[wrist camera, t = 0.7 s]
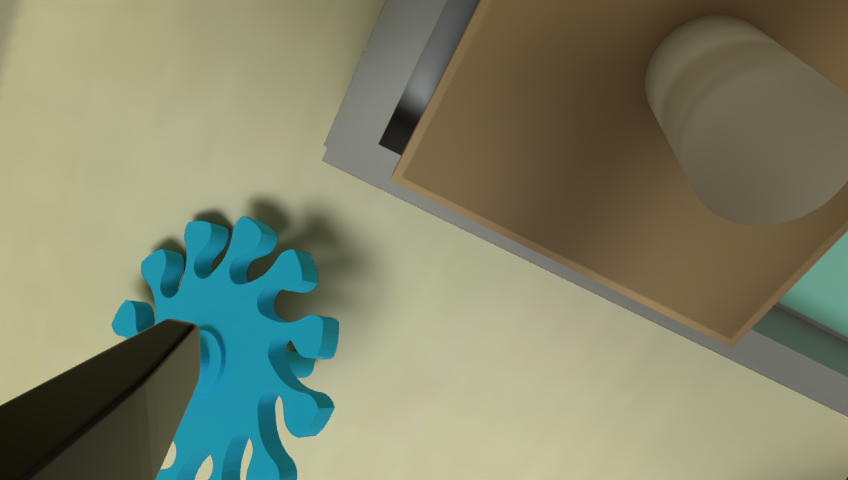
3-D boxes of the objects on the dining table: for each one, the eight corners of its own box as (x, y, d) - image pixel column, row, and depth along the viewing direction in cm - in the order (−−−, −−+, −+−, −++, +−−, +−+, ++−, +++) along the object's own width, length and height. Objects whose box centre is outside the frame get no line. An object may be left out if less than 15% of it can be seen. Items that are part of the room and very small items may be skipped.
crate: (967, -88, 16) (1411, -29, 8) (688, 245, 21) (788, 478, 13) (623, -301, 14) (743, -479, 7) (418, 108, 20) (352, 275, 12)
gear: (298, 173, 21) (326, 514, 18) (395, 215, 26) (429, 486, 23) (71, 256, 26) (66, 536, 23) (191, 277, 31) (199, 508, 28)
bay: (1273, 8, 17) (1530, 61, 13) (855, 369, 24) (929, 483, 20) (591, -429, 14) (623, -550, 10) (349, 117, 21) (306, 183, 17)
